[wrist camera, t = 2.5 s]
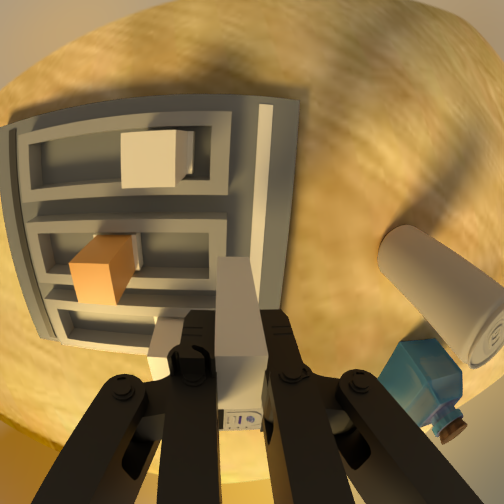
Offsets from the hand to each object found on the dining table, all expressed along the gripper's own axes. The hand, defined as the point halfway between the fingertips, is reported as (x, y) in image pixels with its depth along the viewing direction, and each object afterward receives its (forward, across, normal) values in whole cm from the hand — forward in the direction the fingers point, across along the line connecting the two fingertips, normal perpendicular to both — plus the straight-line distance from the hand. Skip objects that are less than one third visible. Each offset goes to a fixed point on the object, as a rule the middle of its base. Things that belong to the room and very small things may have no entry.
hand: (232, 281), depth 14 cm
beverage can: (+6, +14, -1) cm, 15 cm away
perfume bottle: (+6, +21, -15) cm, 26 cm away
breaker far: (+4, -4, -6) cm, 8 cm away
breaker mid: (+4, -7, 0) cm, 9 cm away
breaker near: (+4, -4, +6) cm, 8 cm away
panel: (+6, -7, 0) cm, 9 cm away
